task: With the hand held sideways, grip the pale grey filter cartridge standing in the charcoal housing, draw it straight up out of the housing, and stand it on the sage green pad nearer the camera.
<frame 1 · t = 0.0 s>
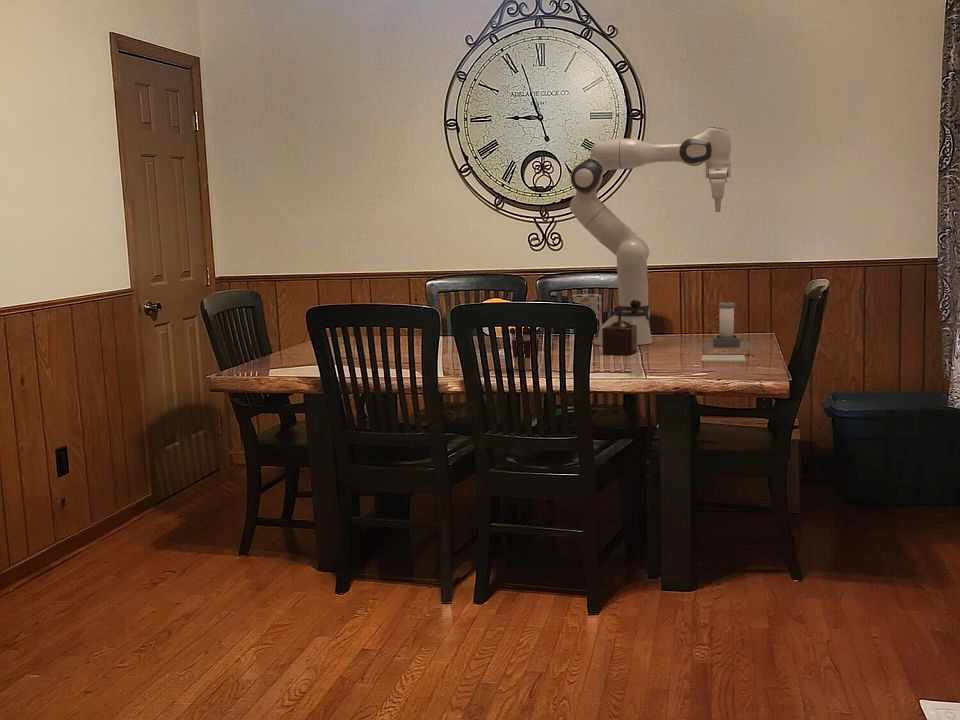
hand: (717, 211, 380), 48 cm above the table, tool pointing down, fingers open, 8 cm apart
pepper mill: (622, 352, 373), on the table
pad: (723, 358, 351), on the table
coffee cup: (525, 369, 343), on the table
candy bar box: (587, 336, 418), on the table
housing: (726, 347, 375), on the table
cartridge: (726, 345, 375), point 1 cm above the table, touching housing
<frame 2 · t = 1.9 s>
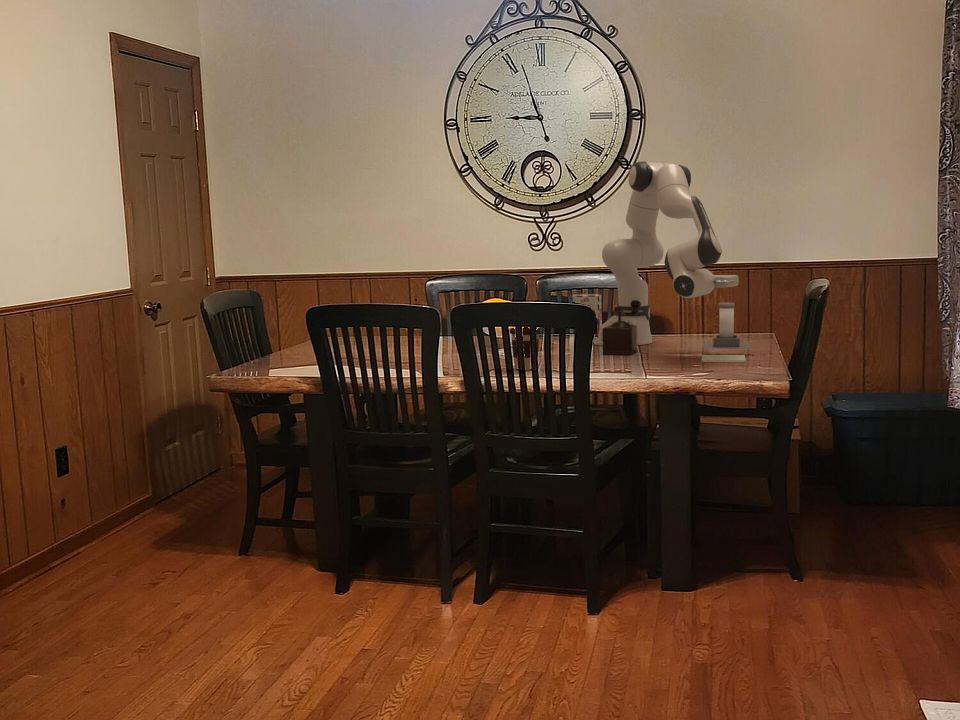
hand: (715, 279, 361), 26 cm above the table, tool horizontal, fingers open, 8 cm apart
nothing on the table moved.
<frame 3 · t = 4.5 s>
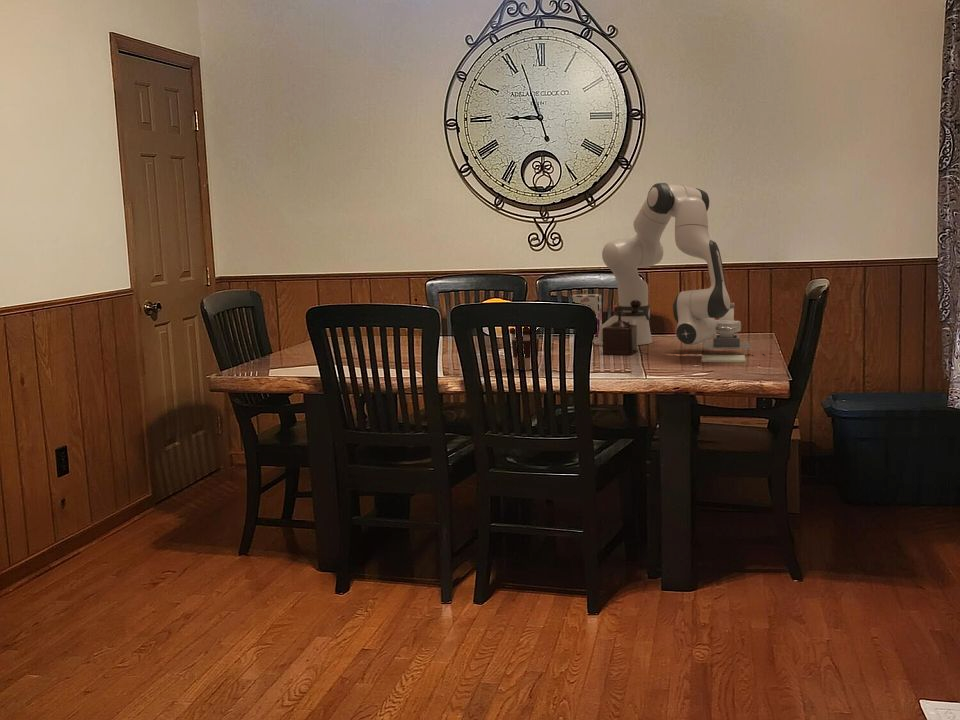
hand: (718, 322, 367), 10 cm above the table, tool horizontal, fingers open, 8 cm apart
nothing on the table moved.
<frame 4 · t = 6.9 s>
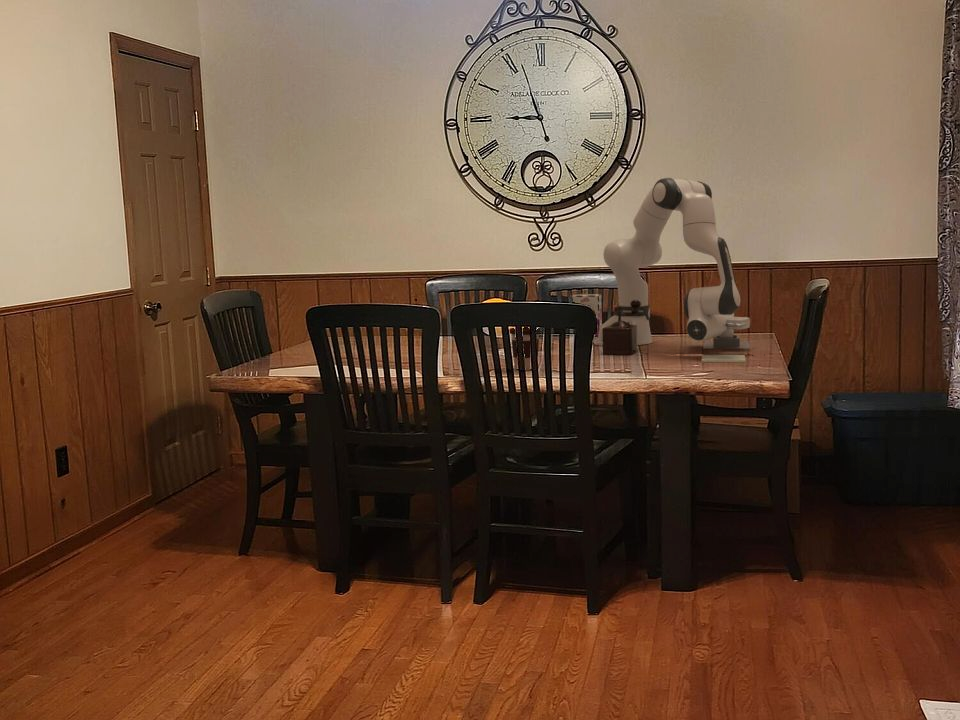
hand: (727, 319, 374), 10 cm above the table, tool horizontal, fingers closed on cartridge, 5 cm apart
cartridge: (726, 345, 375), point 1 cm above the table, touching gripper, housing
everything else where it was.
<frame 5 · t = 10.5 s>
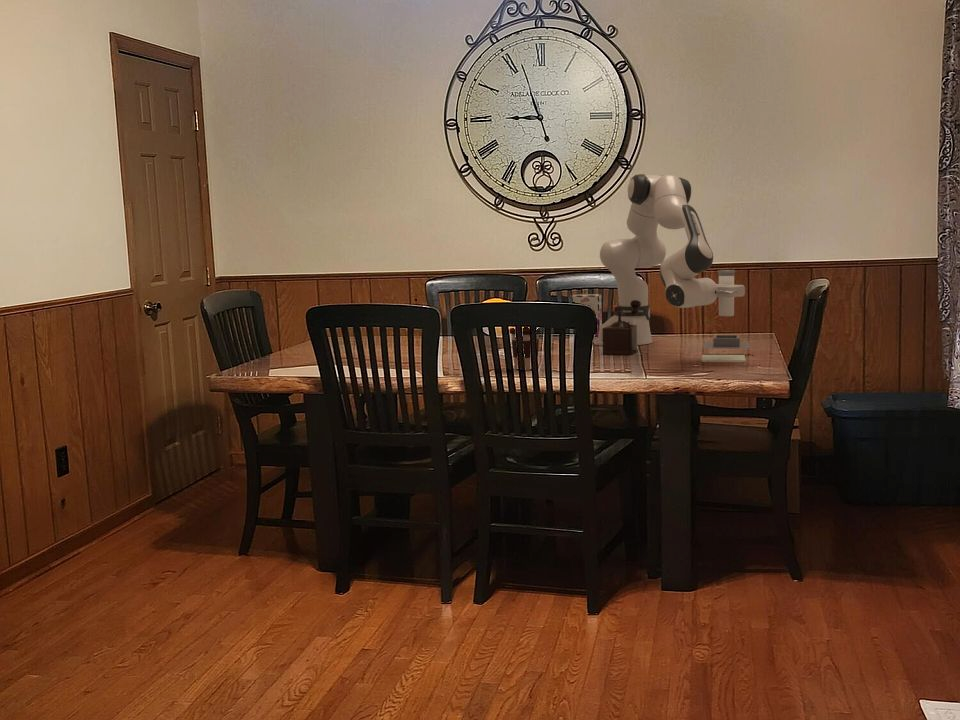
hand: (727, 288, 349), 23 cm above the table, tool horizontal, fingers closed on cartridge, 5 cm apart
cartridge: (726, 315, 350), point 14 cm above the table, touching gripper
everything else where it was.
when the fingers open (11 cm above the table, at t = 13.9 s): cartridge drops 1 cm, resting on pad.
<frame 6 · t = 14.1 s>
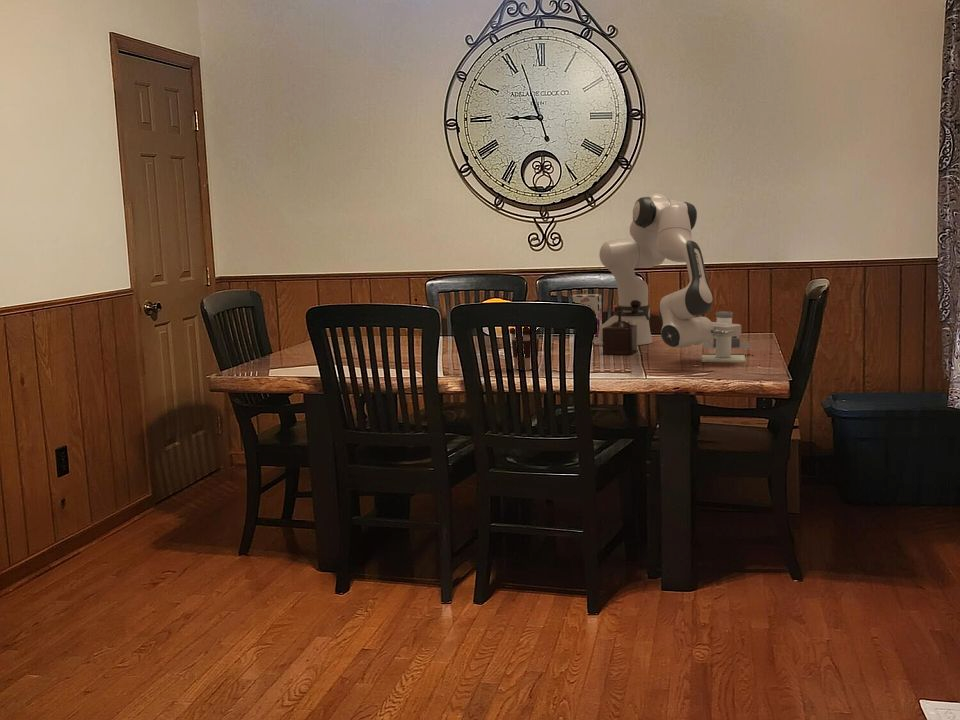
hand: (725, 326, 350), 11 cm above the table, tool horizontal, fingers open, 7 cm apart
cartridge: (723, 356, 351), point 1 cm above the table, touching pad
everything else where it was.
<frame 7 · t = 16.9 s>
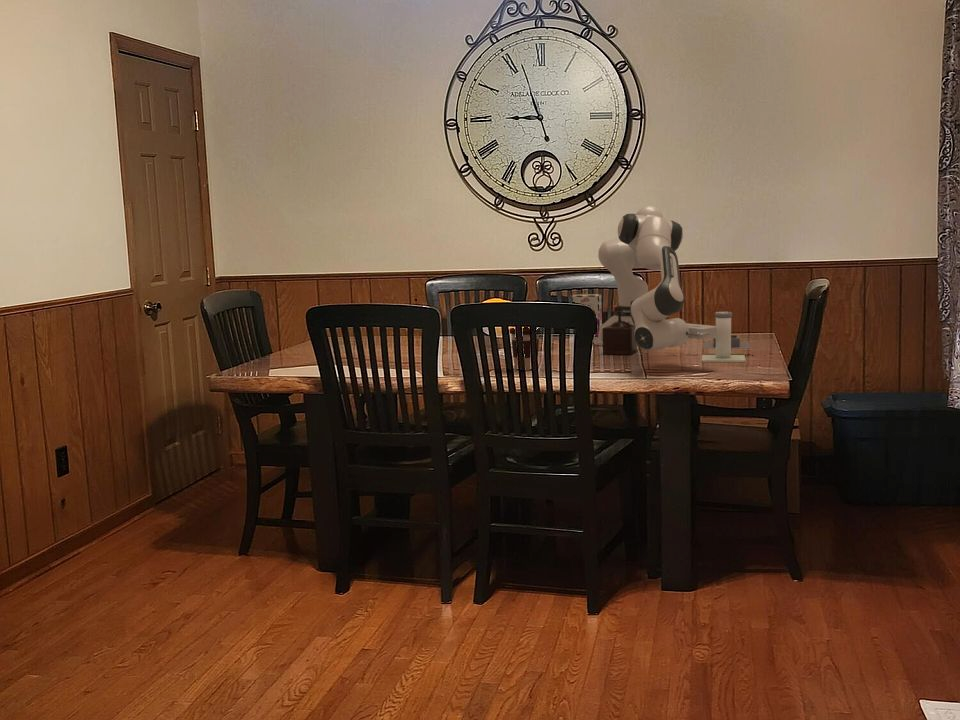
hand: (701, 327, 341), 12 cm above the table, tool horizontal, fingers open, 8 cm apart
nothing on the table moved.
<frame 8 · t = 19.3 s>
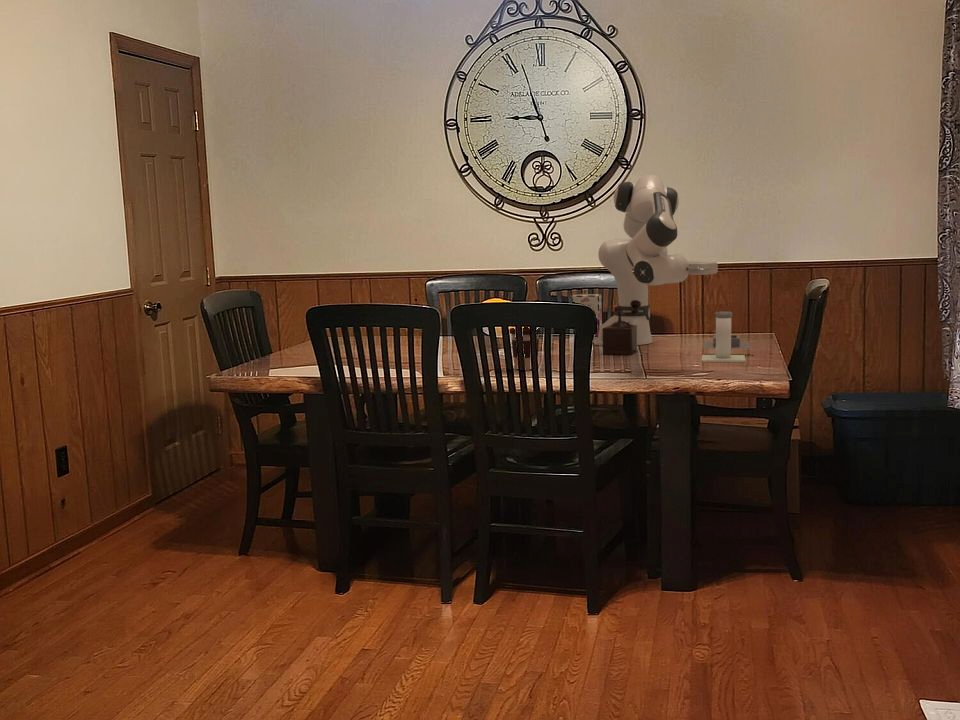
hand: (701, 265, 338), 32 cm above the table, tool horizontal, fingers open, 8 cm apart
nothing on the table moved.
at the end: cartridge inside the target area on the pad (0.0 cm from its centre), point 0.6 cm above the pad's base; cartridge tilted 0°; the gripper is holding nothing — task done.
